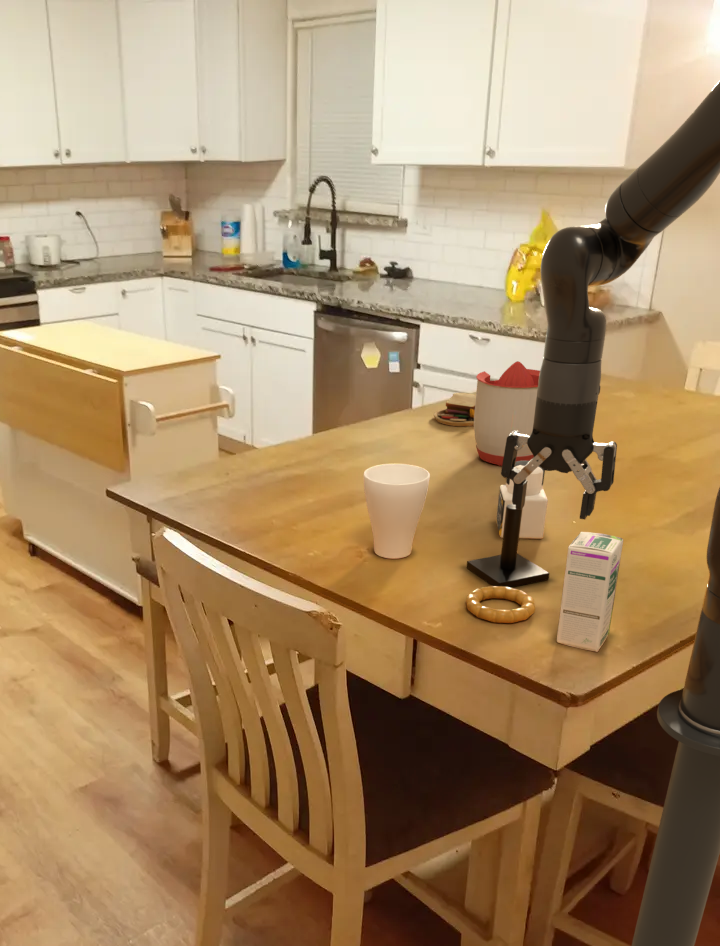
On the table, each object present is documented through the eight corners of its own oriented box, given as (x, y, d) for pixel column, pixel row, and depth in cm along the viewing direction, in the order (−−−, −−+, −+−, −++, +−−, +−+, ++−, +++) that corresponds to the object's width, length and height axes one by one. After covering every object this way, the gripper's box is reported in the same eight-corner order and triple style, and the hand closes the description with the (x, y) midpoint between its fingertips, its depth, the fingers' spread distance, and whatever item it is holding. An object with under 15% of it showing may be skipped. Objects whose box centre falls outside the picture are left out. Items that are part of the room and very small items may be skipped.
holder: (548, 579, 146) (558, 511, 141) (498, 590, 143) (506, 521, 138) (514, 558, 154) (522, 492, 148) (466, 567, 151) (472, 501, 146)
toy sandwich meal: (423, 422, 223) (424, 402, 221) (450, 409, 233) (452, 390, 230) (472, 430, 216) (474, 409, 214) (498, 416, 226) (500, 396, 223)
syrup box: (598, 653, 126) (615, 552, 119) (553, 642, 129) (568, 544, 122) (609, 635, 130) (626, 537, 123) (565, 625, 133) (580, 529, 126)
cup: (358, 540, 162) (360, 463, 156) (420, 539, 162) (425, 462, 155) (363, 565, 153) (366, 485, 147) (428, 564, 153) (434, 484, 146)
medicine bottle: (495, 522, 167) (502, 456, 161) (537, 523, 166) (545, 457, 160) (499, 538, 161) (507, 470, 155) (543, 539, 160) (552, 471, 154)
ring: (547, 617, 135) (549, 606, 134) (490, 630, 132) (491, 618, 132) (508, 590, 143) (509, 579, 142) (453, 602, 140) (454, 591, 140)
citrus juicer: (514, 441, 208) (524, 348, 198) (562, 464, 193) (575, 365, 184) (451, 450, 204) (458, 355, 194) (494, 474, 189) (505, 373, 180)
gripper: (504, 395, 122) (492, 514, 130) (620, 406, 116) (600, 530, 123) (519, 382, 127) (506, 496, 135) (631, 392, 121) (611, 511, 129)
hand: (551, 512), depth 129 cm, fingers open, 8 cm apart
